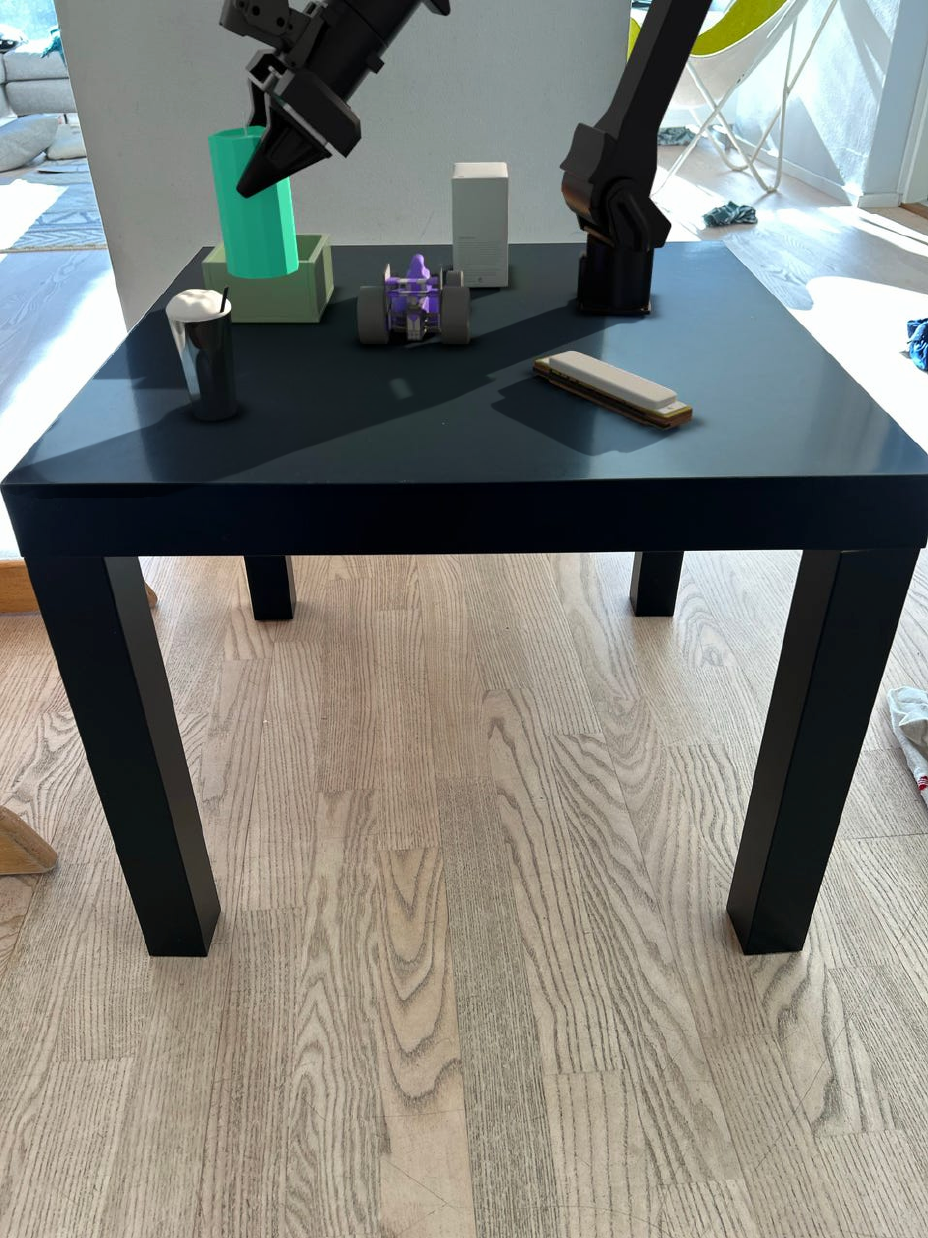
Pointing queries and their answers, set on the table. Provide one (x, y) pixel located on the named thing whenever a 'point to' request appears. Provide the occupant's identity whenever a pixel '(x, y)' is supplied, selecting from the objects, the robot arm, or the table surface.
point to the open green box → (277, 285)
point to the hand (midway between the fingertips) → (235, 186)
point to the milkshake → (205, 350)
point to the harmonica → (614, 389)
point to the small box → (480, 223)
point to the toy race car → (415, 306)
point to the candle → (251, 210)
